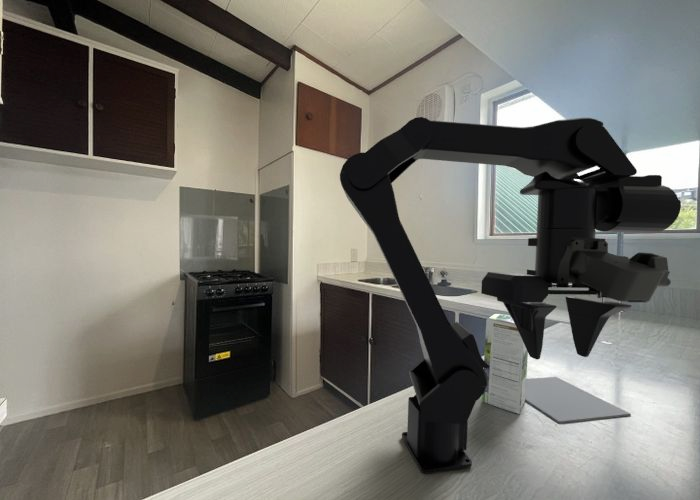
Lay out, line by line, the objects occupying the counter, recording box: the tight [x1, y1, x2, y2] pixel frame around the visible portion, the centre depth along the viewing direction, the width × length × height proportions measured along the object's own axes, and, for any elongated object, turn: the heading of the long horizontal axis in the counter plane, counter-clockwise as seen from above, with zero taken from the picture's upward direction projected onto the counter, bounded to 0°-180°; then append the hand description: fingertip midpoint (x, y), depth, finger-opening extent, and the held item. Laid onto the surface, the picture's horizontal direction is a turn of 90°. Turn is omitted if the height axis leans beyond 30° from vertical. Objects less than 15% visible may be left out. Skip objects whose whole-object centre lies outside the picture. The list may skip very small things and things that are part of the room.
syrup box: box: [481, 313, 529, 415], centre depth 47 cm, size 6×6×14 cm
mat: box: [525, 376, 632, 424], centre depth 50 cm, size 14×13×1 cm
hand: (559, 357), depth 34 cm, fingers open, 7 cm apart
